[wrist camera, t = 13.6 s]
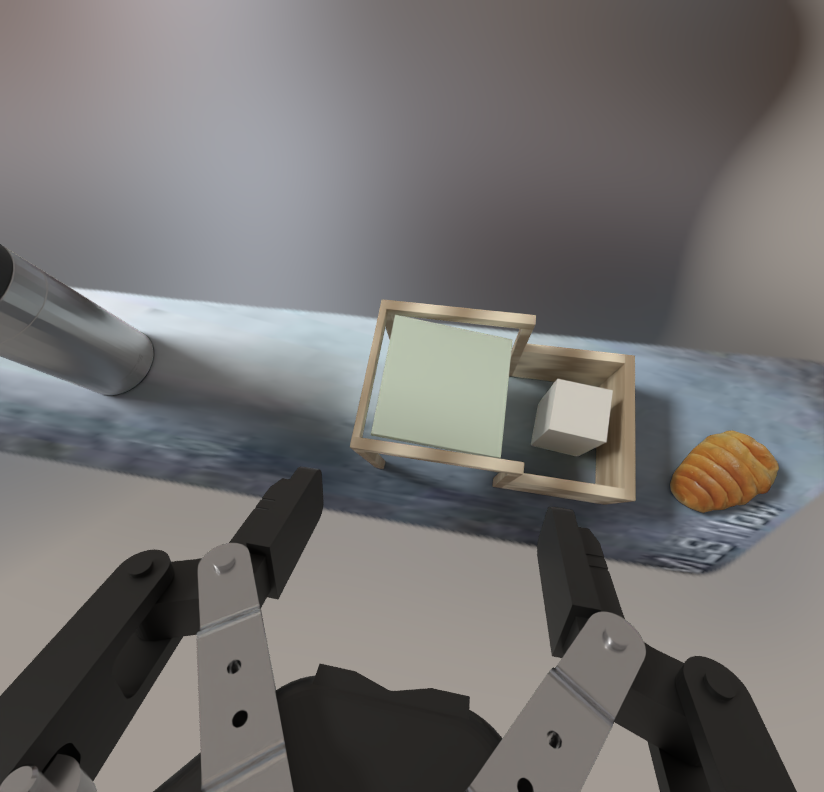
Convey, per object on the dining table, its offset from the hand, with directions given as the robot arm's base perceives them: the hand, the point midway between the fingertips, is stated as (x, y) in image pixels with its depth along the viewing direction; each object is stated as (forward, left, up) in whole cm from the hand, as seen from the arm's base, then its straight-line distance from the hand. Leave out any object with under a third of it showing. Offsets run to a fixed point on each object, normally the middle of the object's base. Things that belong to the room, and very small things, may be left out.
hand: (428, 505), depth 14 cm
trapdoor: (-4, +10, -18) cm, 22 cm away
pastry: (+24, +17, -29) cm, 41 cm away
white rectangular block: (+7, +14, -21) cm, 26 cm away
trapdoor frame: (+1, +12, -29) cm, 31 cm away
